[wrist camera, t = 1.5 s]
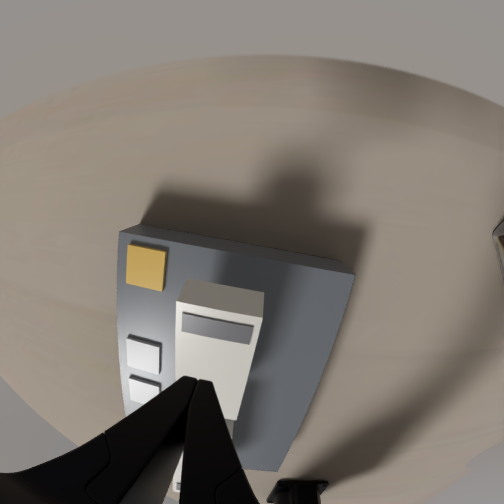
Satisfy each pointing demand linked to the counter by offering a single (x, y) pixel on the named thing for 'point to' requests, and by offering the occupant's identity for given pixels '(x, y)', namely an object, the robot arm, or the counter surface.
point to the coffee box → (500, 244)
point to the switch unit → (269, 339)
